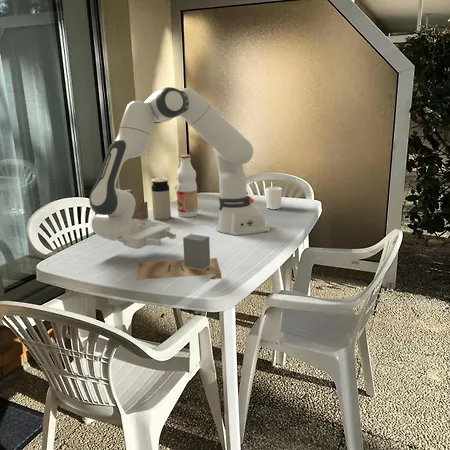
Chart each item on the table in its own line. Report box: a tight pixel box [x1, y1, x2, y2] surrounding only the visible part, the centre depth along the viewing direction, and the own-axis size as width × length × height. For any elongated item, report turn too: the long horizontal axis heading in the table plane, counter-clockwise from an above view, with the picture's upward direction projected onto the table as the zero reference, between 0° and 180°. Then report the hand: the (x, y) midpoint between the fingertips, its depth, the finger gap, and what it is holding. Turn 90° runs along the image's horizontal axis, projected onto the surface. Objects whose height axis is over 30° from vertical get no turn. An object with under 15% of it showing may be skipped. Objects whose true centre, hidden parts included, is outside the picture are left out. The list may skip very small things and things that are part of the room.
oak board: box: [136, 257, 222, 280], centre depth 149 cm, size 26×14×2 cm, turn 97°
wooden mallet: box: [123, 189, 149, 220], centre depth 187 cm, size 4×11×18 cm, turn 56°
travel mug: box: [151, 177, 172, 221], centre depth 210 cm, size 8×8×18 cm
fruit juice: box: [175, 154, 199, 218], centre depth 213 cm, size 9×9×28 cm
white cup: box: [265, 186, 283, 209], centre depth 224 cm, size 8×8×10 cm
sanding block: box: [182, 233, 211, 271], centre depth 148 cm, size 7×4×10 cm, turn 62°
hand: (167, 239), depth 154 cm, fingers open, 8 cm apart
